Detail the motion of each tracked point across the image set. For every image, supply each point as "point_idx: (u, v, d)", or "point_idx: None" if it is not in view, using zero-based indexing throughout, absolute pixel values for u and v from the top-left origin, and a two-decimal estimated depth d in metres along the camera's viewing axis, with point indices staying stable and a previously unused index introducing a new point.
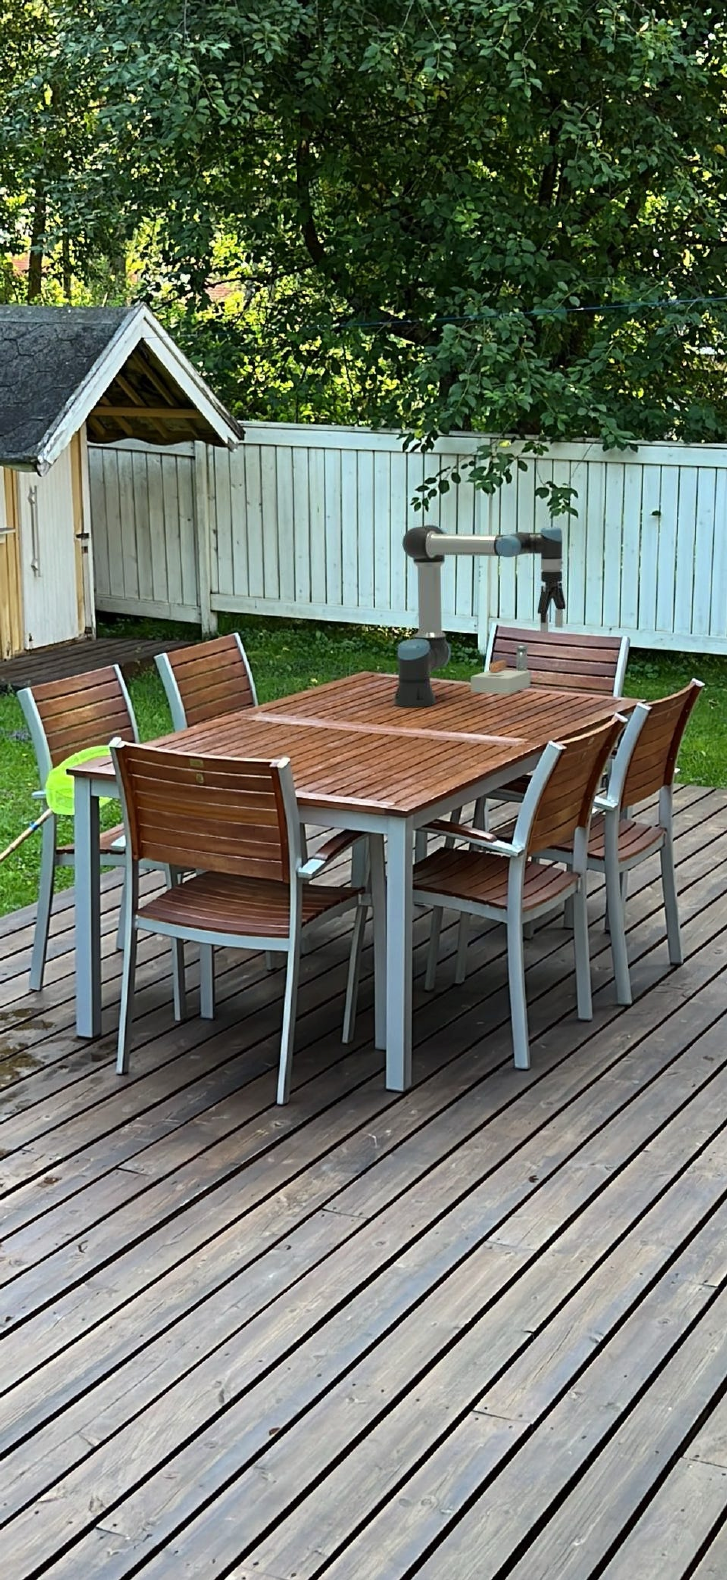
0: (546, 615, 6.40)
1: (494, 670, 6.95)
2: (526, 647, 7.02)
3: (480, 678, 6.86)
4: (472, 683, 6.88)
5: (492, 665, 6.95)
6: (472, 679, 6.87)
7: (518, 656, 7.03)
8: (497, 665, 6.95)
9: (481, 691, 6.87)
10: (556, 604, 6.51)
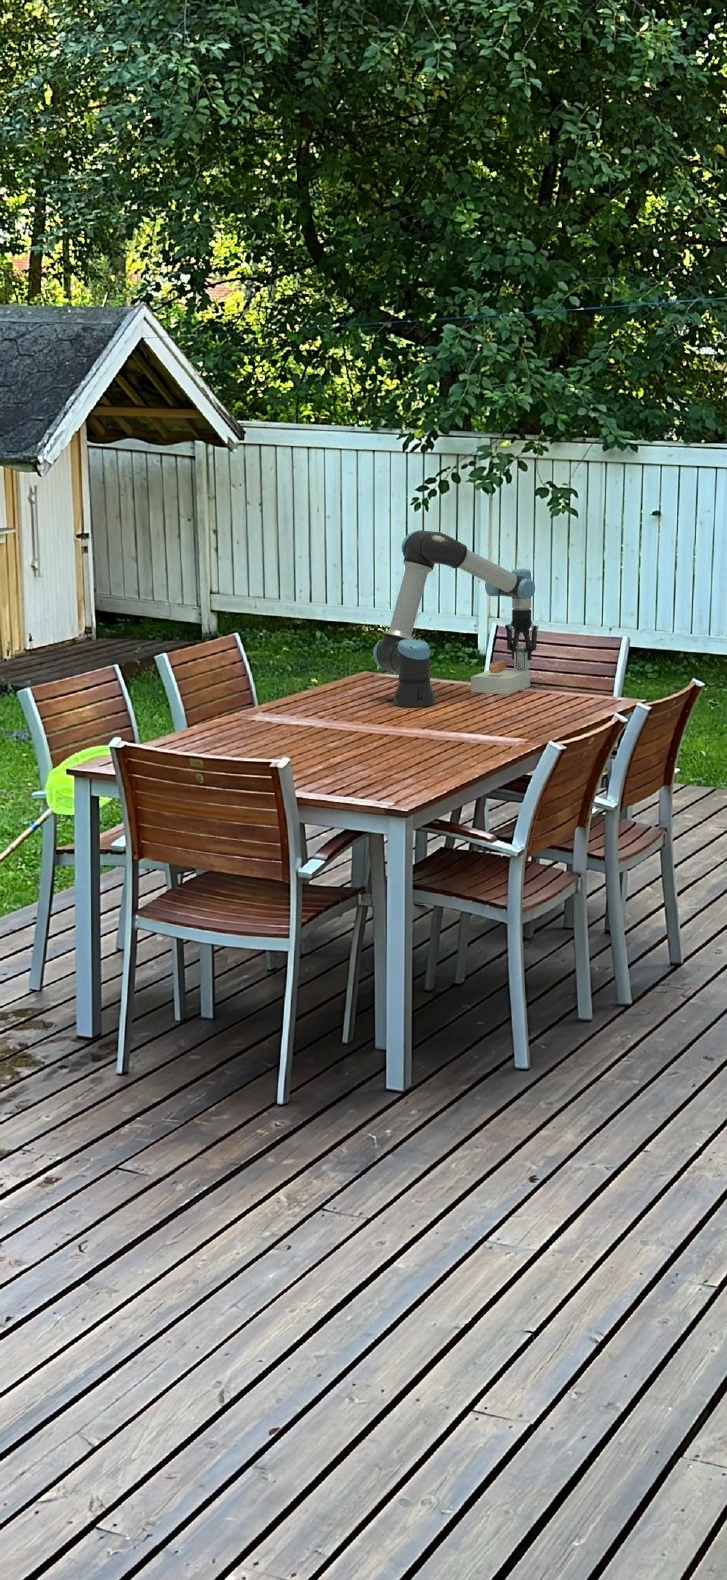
0: (514, 653, 7.04)
1: (494, 670, 6.95)
2: None
3: (480, 678, 6.86)
4: (472, 683, 6.88)
5: (492, 665, 6.95)
6: (472, 679, 6.87)
7: (518, 656, 7.03)
8: (497, 665, 6.95)
9: (481, 691, 6.87)
10: None
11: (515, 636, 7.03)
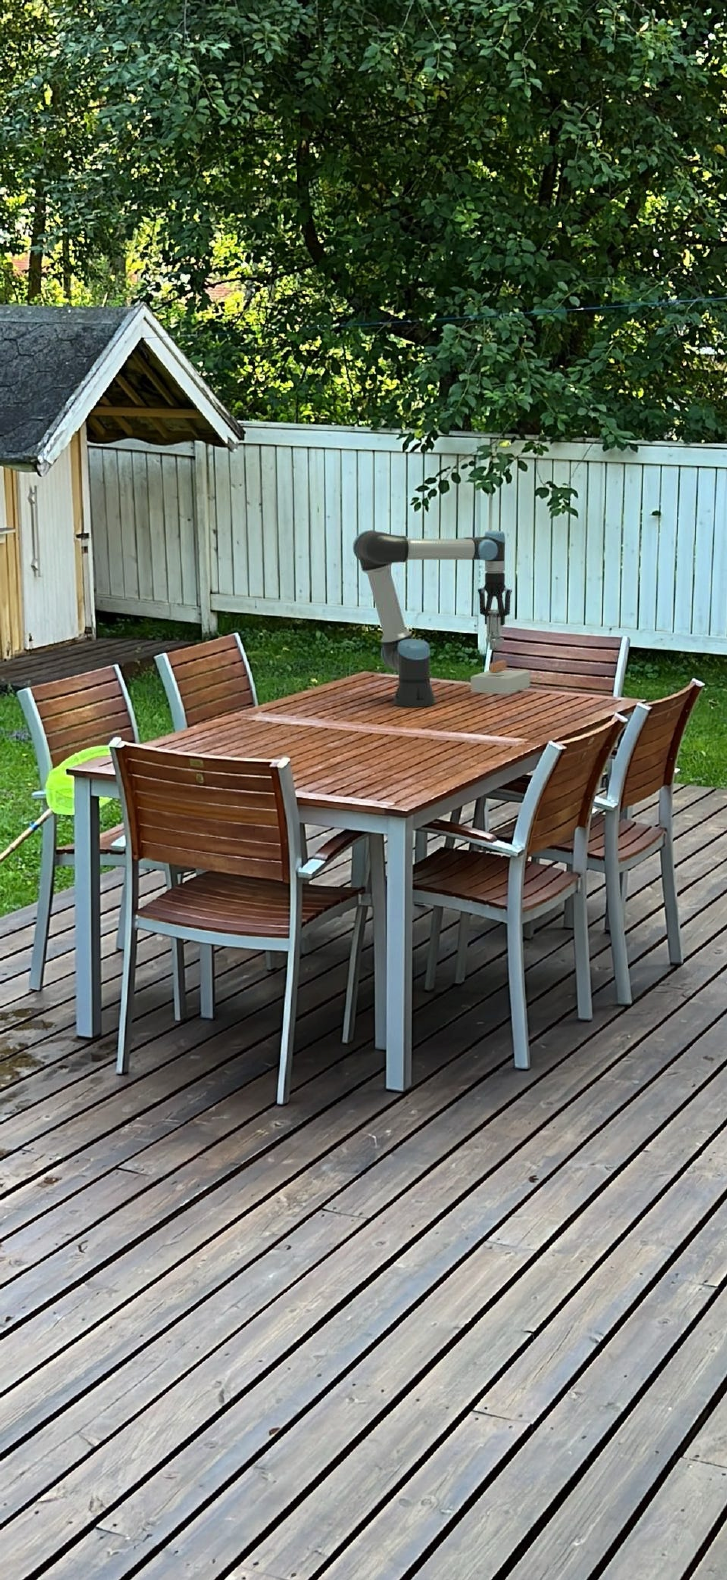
0: (487, 618, 6.84)
1: (494, 670, 6.95)
2: None
3: (480, 678, 6.86)
4: (472, 683, 6.88)
5: (492, 665, 6.95)
6: (472, 679, 6.87)
7: (491, 621, 6.83)
8: (497, 665, 6.95)
9: (481, 691, 6.87)
10: None
11: (488, 600, 6.83)
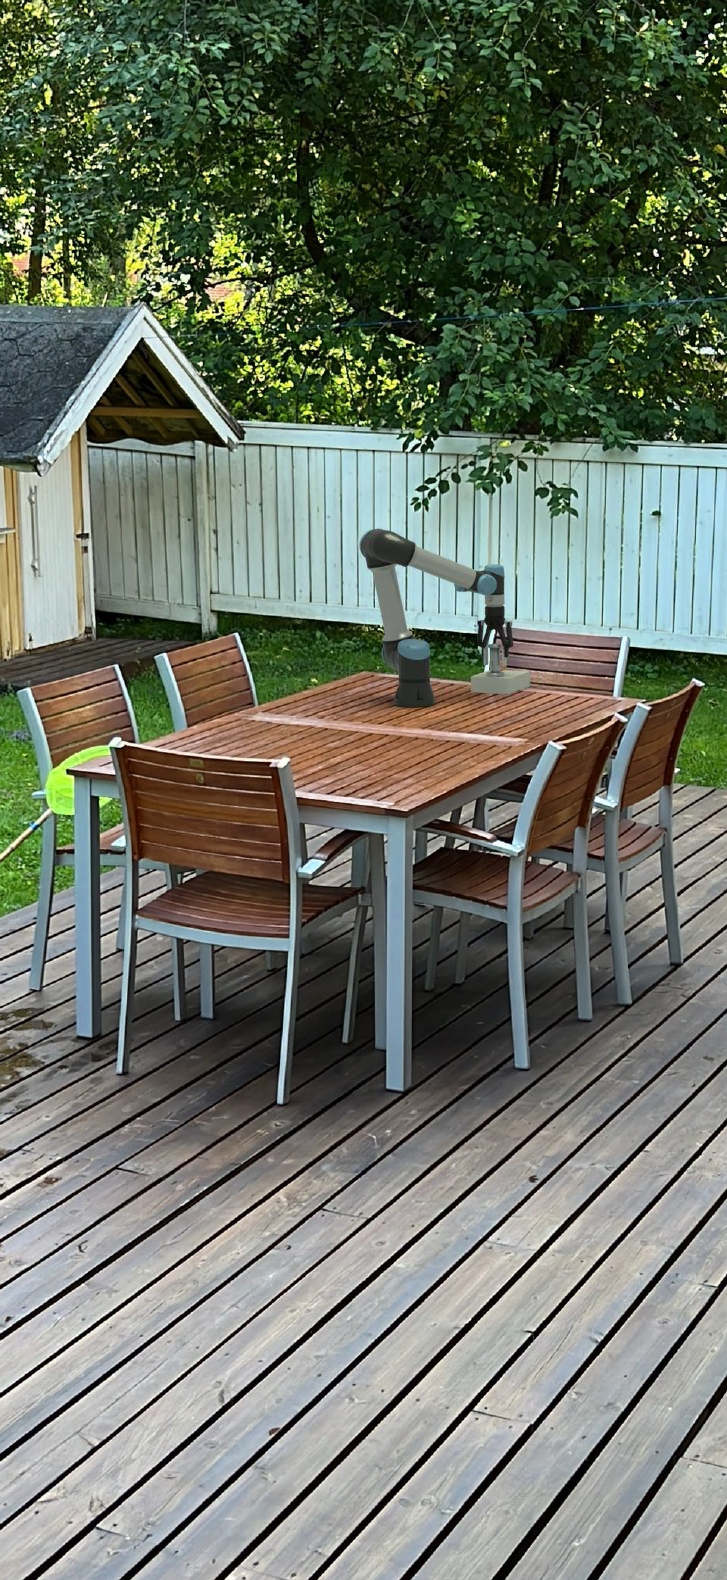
0: (483, 649, 6.87)
1: None
2: (499, 646, 6.84)
3: (480, 678, 6.86)
4: (472, 683, 6.88)
5: None
6: (472, 679, 6.87)
7: (491, 655, 6.85)
8: None
9: (481, 691, 6.87)
10: None
11: (486, 633, 6.85)
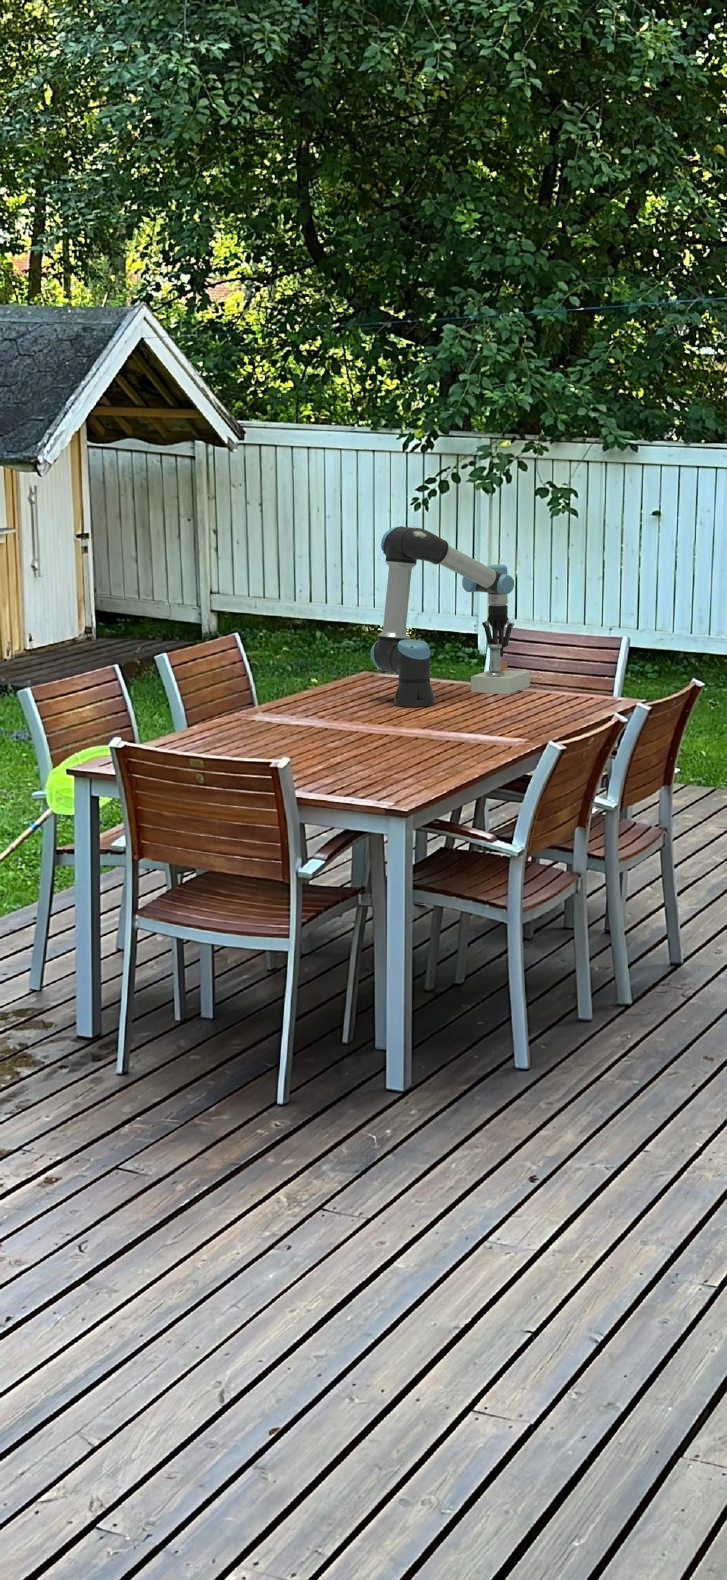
0: None
1: None
2: (499, 646, 6.84)
3: (480, 678, 6.86)
4: (472, 683, 6.88)
5: None
6: (472, 679, 6.87)
7: (491, 655, 6.85)
8: None
9: (481, 691, 6.87)
10: None
11: (493, 632, 7.00)
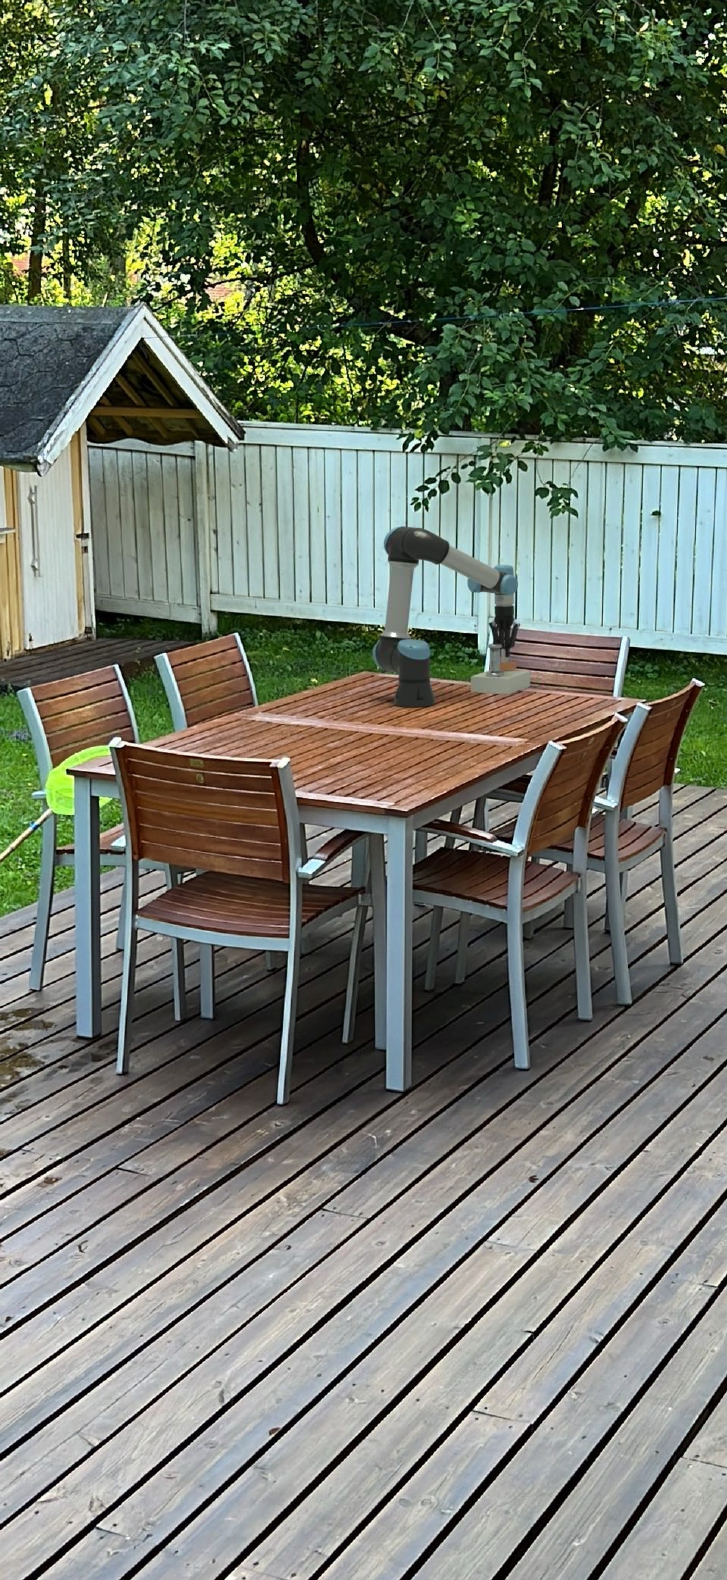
0: None
1: None
2: (499, 646, 6.84)
3: (480, 678, 6.86)
4: (472, 683, 6.88)
5: None
6: (472, 679, 6.87)
7: (491, 655, 6.85)
8: None
9: (481, 691, 6.87)
10: None
11: (500, 633, 6.98)
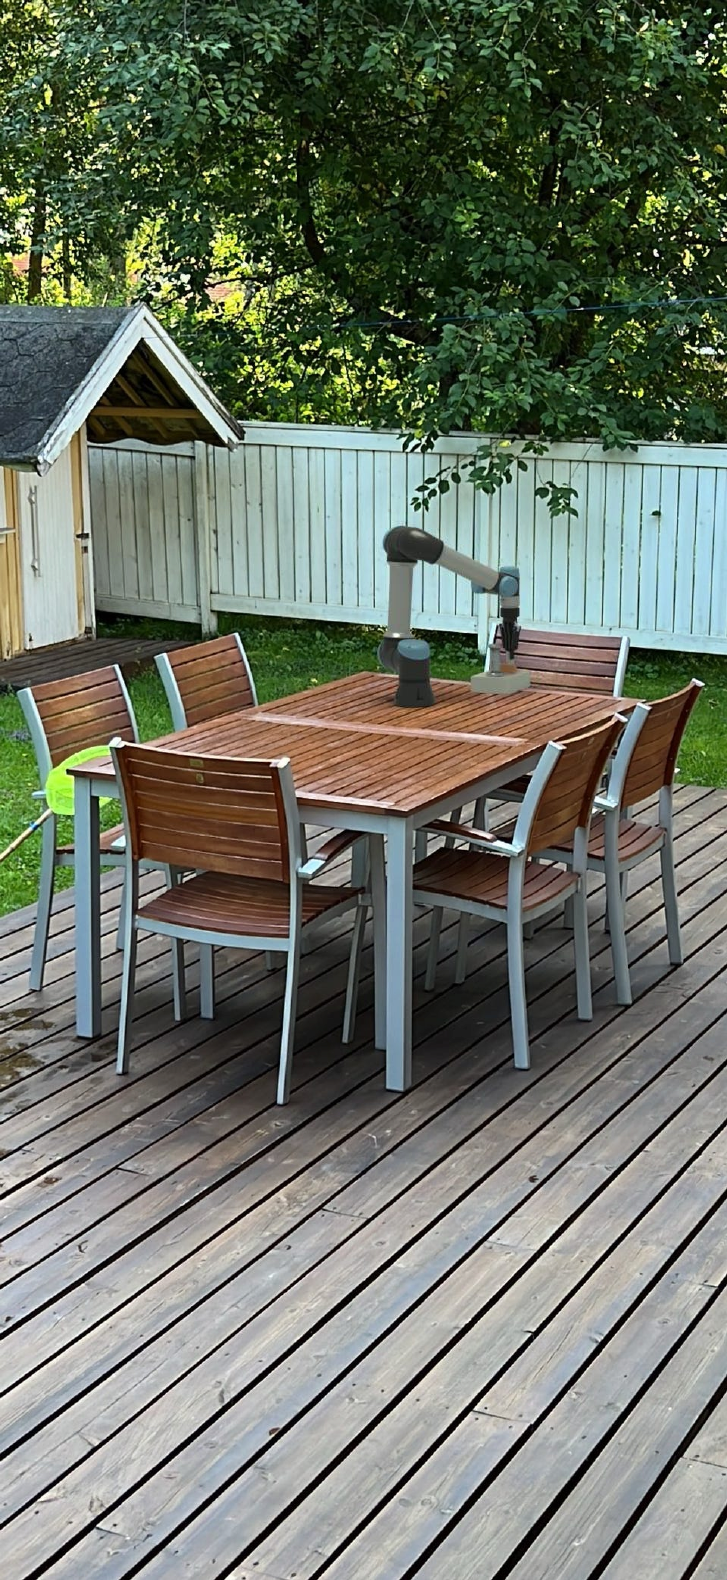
0: None
1: None
2: (499, 646, 6.84)
3: (480, 678, 6.86)
4: (472, 683, 6.88)
5: None
6: (472, 679, 6.87)
7: (491, 655, 6.85)
8: None
9: (481, 691, 6.87)
10: None
11: (505, 634, 6.93)
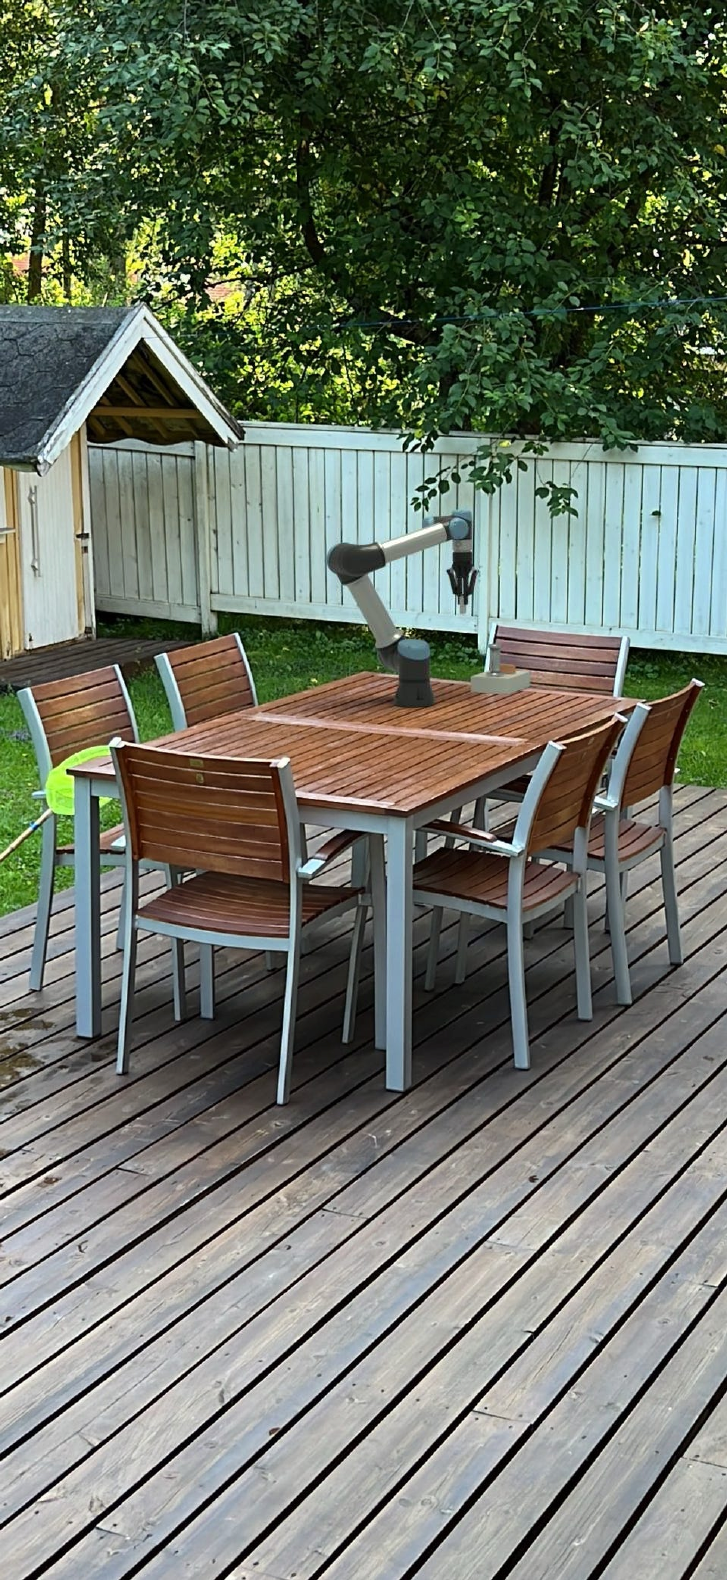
0: (459, 598, 6.80)
1: None
2: (499, 646, 6.84)
3: (480, 678, 6.86)
4: (472, 683, 6.88)
5: None
6: (472, 679, 6.87)
7: (491, 655, 6.85)
8: None
9: (481, 691, 6.87)
10: None
11: (458, 580, 6.79)
